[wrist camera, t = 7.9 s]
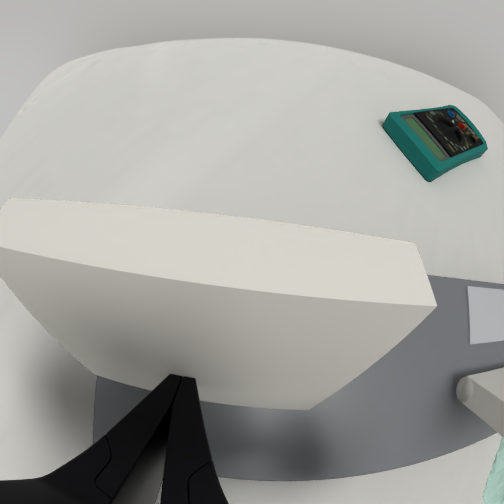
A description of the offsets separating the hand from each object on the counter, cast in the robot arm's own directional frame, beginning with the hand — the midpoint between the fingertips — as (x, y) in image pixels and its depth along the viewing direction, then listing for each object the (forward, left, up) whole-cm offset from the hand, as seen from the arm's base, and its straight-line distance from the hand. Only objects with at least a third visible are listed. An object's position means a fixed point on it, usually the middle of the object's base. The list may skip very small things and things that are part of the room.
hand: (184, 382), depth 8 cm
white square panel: (0, 0, -4) cm, 4 cm away
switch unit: (-6, -8, -7) cm, 12 cm away
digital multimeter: (+4, -31, -7) cm, 32 cm away
